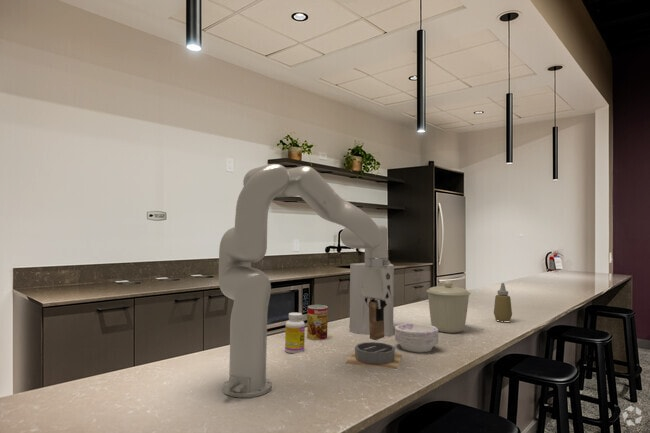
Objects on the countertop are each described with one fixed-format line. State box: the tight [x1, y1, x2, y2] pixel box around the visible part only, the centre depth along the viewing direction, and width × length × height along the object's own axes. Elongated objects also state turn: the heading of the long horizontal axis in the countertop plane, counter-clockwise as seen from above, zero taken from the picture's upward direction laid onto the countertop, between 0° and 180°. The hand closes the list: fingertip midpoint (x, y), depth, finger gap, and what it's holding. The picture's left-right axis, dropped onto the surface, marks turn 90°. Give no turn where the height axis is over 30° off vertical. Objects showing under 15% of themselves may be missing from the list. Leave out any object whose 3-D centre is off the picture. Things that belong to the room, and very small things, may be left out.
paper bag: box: [349, 262, 395, 337], centre depth 174 cm, size 19×15×28 cm
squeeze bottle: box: [493, 282, 513, 322], centre depth 198 cm, size 8×8×18 cm
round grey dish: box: [354, 341, 396, 365], centre depth 136 cm, size 13×13×4 cm
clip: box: [363, 346, 387, 353], centre depth 136 cm, size 5×6×3 cm
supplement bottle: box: [284, 312, 306, 354], centre depth 145 cm, size 7×7×13 cm
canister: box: [425, 280, 471, 334], centre depth 179 cm, size 18×18×21 cm
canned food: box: [306, 304, 329, 341], centre depth 164 cm, size 8×8×12 cm
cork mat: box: [345, 350, 403, 370], centre depth 136 cm, size 16×16×1 cm
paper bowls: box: [394, 323, 439, 353], centre depth 149 cm, size 15×15×8 cm
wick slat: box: [369, 300, 385, 341], centre depth 137 cm, size 2×4×12 cm, turn 135°
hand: (376, 319), depth 137 cm, fingers closed on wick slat, 2 cm apart
